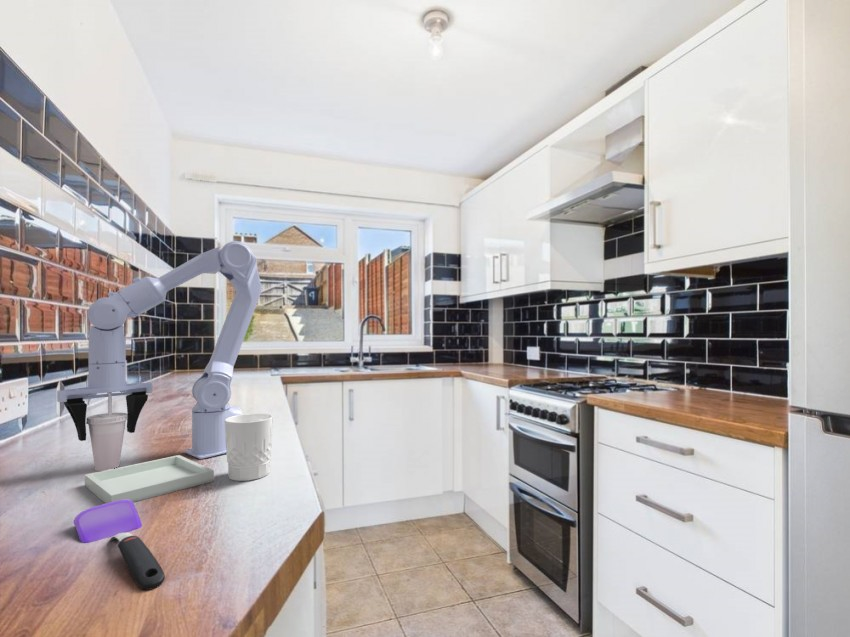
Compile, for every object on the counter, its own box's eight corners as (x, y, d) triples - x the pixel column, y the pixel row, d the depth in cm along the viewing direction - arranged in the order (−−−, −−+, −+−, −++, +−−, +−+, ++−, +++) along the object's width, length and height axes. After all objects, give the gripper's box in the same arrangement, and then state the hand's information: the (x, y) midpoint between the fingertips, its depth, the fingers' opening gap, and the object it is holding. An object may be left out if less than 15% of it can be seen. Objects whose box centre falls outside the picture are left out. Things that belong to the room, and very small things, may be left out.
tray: (179, 464, 85) (179, 454, 85) (213, 481, 76) (213, 470, 76) (84, 485, 74) (84, 474, 74) (111, 508, 65) (111, 495, 65)
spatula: (190, 579, 47) (190, 555, 47) (112, 609, 42) (112, 582, 42) (131, 514, 64) (131, 496, 64) (70, 530, 59) (70, 511, 59)
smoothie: (106, 474, 80) (106, 395, 80) (76, 472, 81) (77, 394, 82) (136, 463, 86) (136, 390, 87) (108, 461, 88) (108, 389, 88)
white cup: (281, 474, 79) (281, 417, 79) (237, 486, 73) (236, 424, 73) (259, 465, 84) (259, 411, 84) (217, 475, 78) (216, 418, 79)
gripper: (143, 359, 92) (143, 426, 92) (53, 364, 81) (53, 440, 81) (156, 361, 88) (156, 430, 87) (62, 366, 77) (62, 446, 76)
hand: (107, 435), depth 84 cm, fingers open, 7 cm apart
